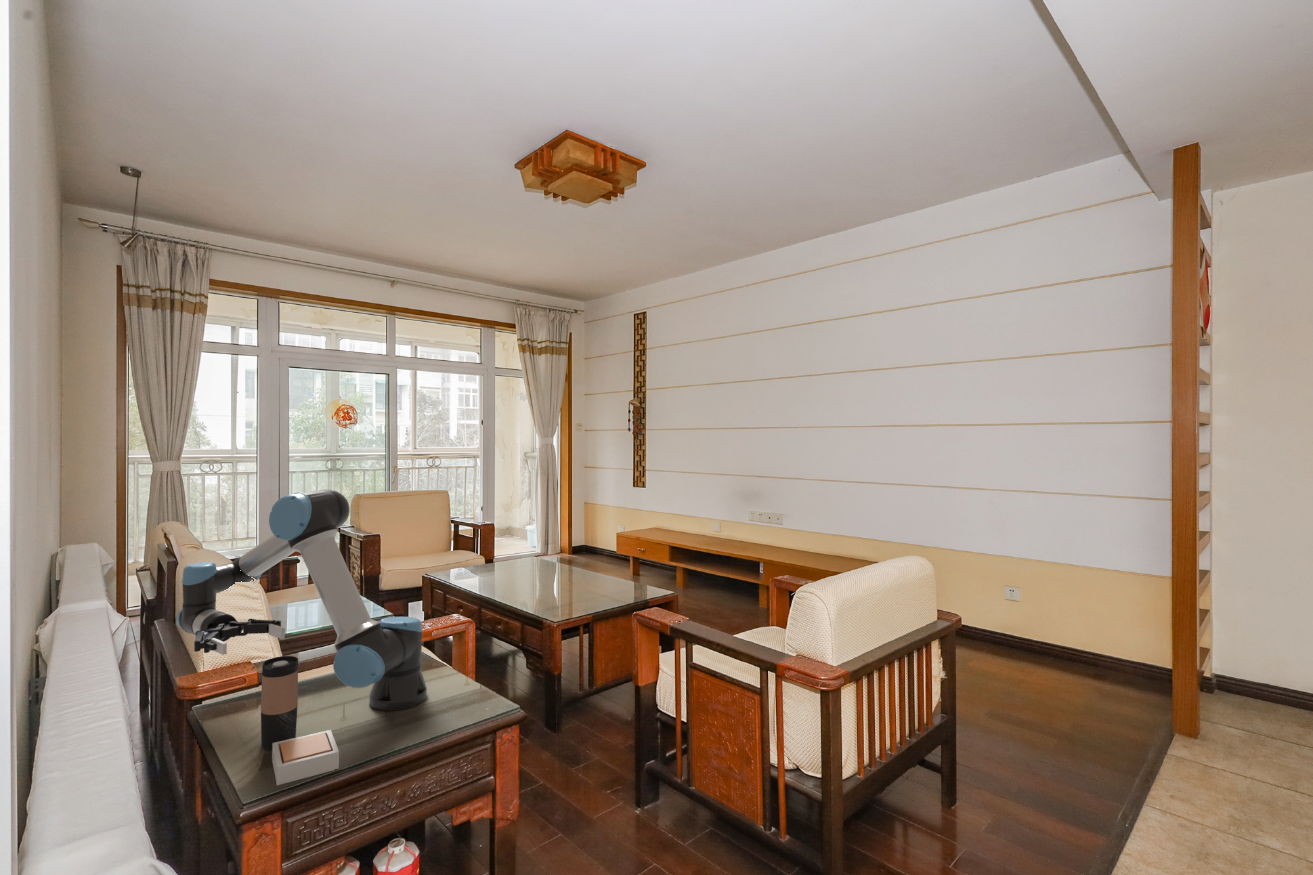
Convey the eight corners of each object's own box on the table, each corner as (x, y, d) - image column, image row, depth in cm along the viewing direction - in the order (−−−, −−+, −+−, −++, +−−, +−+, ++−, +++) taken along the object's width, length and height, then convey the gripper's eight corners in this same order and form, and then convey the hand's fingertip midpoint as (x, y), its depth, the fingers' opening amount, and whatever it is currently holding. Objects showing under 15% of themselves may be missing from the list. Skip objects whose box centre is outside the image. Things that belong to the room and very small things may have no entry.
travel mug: (296, 732, 156) (297, 653, 156) (297, 745, 150) (299, 663, 149) (260, 739, 152) (261, 658, 152) (260, 754, 145) (261, 669, 145)
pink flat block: (324, 744, 148) (324, 732, 148) (330, 762, 141) (331, 749, 141) (279, 755, 143) (280, 742, 143) (283, 774, 135) (284, 761, 135)
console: (330, 745, 150) (330, 729, 150) (338, 768, 140) (339, 751, 140) (272, 760, 143) (272, 743, 143) (276, 785, 133) (277, 767, 133)
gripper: (264, 627, 178) (305, 641, 167) (159, 653, 157) (197, 671, 146) (264, 601, 178) (305, 614, 167) (159, 624, 157) (198, 640, 146)
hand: (255, 640), depth 156 cm, fingers open, 13 cm apart
